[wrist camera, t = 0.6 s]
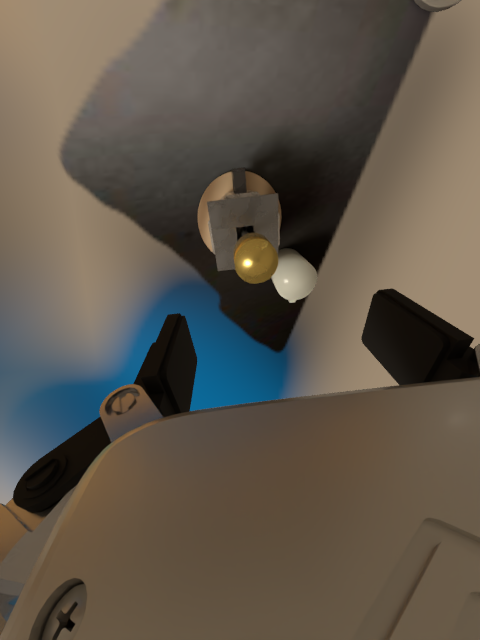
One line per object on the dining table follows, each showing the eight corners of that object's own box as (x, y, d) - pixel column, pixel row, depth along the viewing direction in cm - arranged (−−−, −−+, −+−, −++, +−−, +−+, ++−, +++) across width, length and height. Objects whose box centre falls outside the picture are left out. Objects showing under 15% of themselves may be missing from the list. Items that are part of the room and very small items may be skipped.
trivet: (281, 165, 36) (281, 165, 36) (280, 257, 45) (281, 258, 44) (189, 176, 36) (188, 176, 36) (206, 266, 45) (206, 267, 45)
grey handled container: (265, 168, 36) (283, 161, 25) (267, 246, 43) (282, 267, 32) (205, 175, 36) (196, 171, 25) (217, 252, 43) (214, 275, 32)
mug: (303, 246, 44) (319, 258, 36) (300, 286, 49) (314, 304, 42) (267, 250, 44) (275, 263, 37) (268, 290, 49) (276, 309, 42)
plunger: (265, 198, 32) (300, 211, 17) (266, 249, 36) (296, 295, 21) (215, 204, 32) (207, 222, 17) (222, 255, 36) (221, 304, 21)
